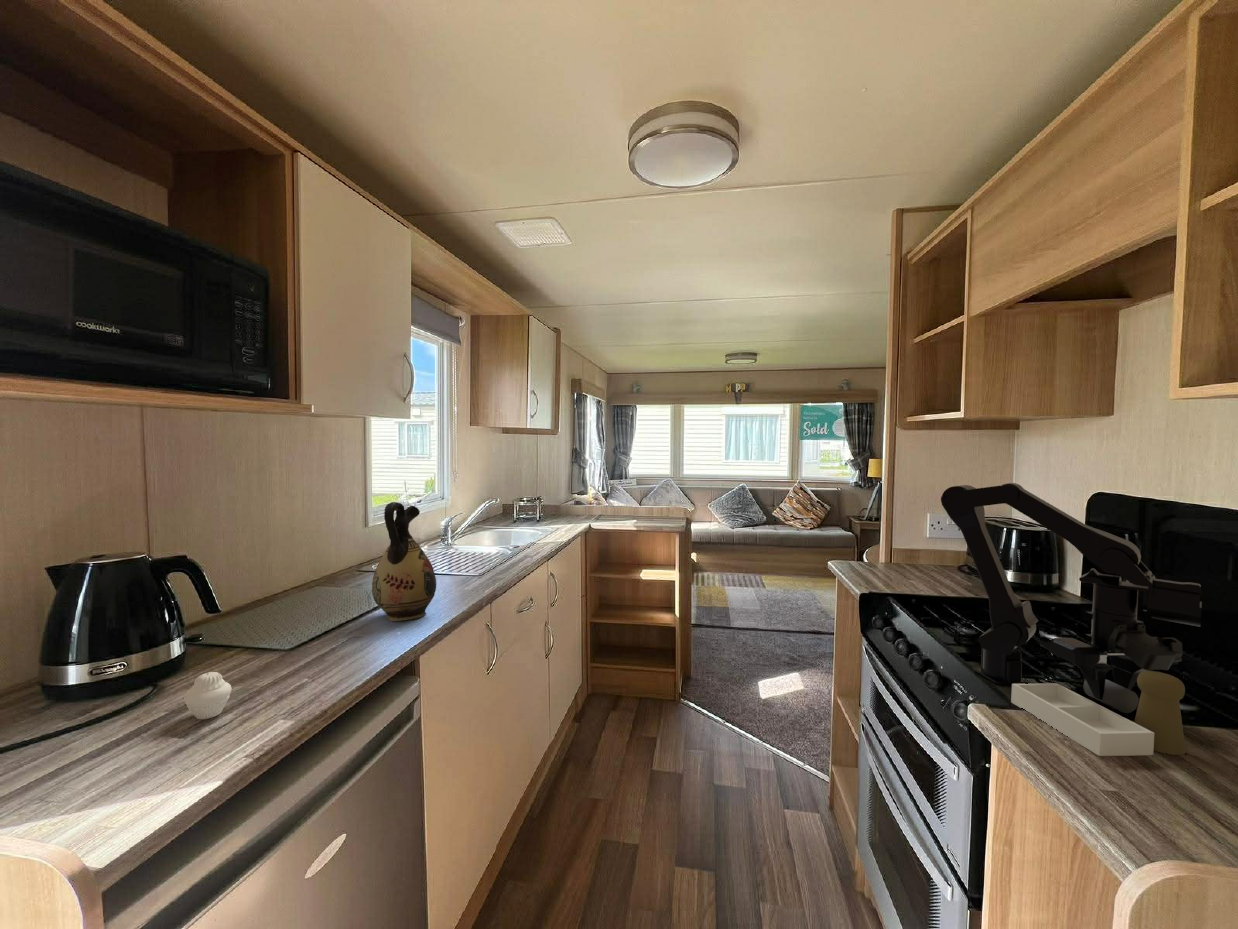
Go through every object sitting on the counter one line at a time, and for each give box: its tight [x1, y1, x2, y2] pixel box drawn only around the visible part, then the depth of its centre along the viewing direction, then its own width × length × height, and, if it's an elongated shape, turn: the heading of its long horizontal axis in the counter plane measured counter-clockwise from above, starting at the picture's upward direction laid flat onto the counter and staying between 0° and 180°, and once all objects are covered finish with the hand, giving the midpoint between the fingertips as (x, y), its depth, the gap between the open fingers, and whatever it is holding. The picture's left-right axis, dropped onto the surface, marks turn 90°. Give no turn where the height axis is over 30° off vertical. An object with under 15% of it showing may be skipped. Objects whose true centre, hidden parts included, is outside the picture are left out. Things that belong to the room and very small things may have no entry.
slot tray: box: [1010, 682, 1154, 757], centre depth 86 cm, size 16×8×3 cm, turn 3°
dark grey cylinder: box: [1082, 679, 1139, 714], centre depth 93 cm, size 6×4×4 cm, turn 3°
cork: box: [1133, 670, 1187, 756], centre depth 81 cm, size 6×6×11 cm
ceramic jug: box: [371, 501, 437, 622], centre depth 135 cm, size 17×15×30 cm
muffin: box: [183, 671, 232, 720], centre depth 86 cm, size 6×6×7 cm
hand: (1109, 698), depth 93 cm, fingers closed on dark grey cylinder, 4 cm apart
